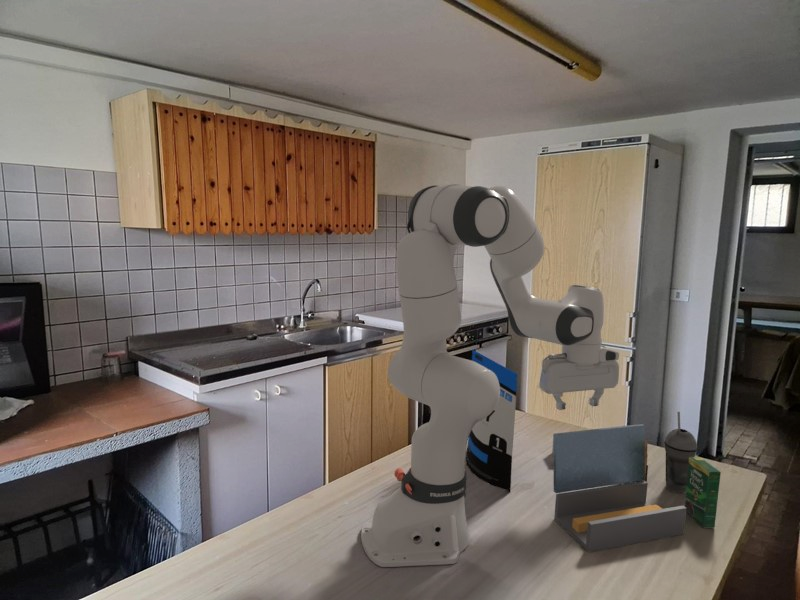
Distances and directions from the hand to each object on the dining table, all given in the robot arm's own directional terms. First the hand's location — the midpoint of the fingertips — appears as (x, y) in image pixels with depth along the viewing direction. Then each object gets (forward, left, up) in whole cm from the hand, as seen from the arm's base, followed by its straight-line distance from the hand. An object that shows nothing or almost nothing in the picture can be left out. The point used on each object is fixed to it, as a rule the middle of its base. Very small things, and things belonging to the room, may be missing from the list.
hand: (577, 407), depth 124 cm
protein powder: (-16, +14, -21) cm, 30 cm away
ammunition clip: (+20, +2, -21) cm, 29 cm away
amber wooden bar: (0, -17, -21) cm, 27 cm away
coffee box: (+20, -19, -21) cm, 35 cm away
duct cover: (0, -10, -8) cm, 13 cm away
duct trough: (0, -17, -21) cm, 27 cm away
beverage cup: (+26, -7, -21) cm, 34 cm away
